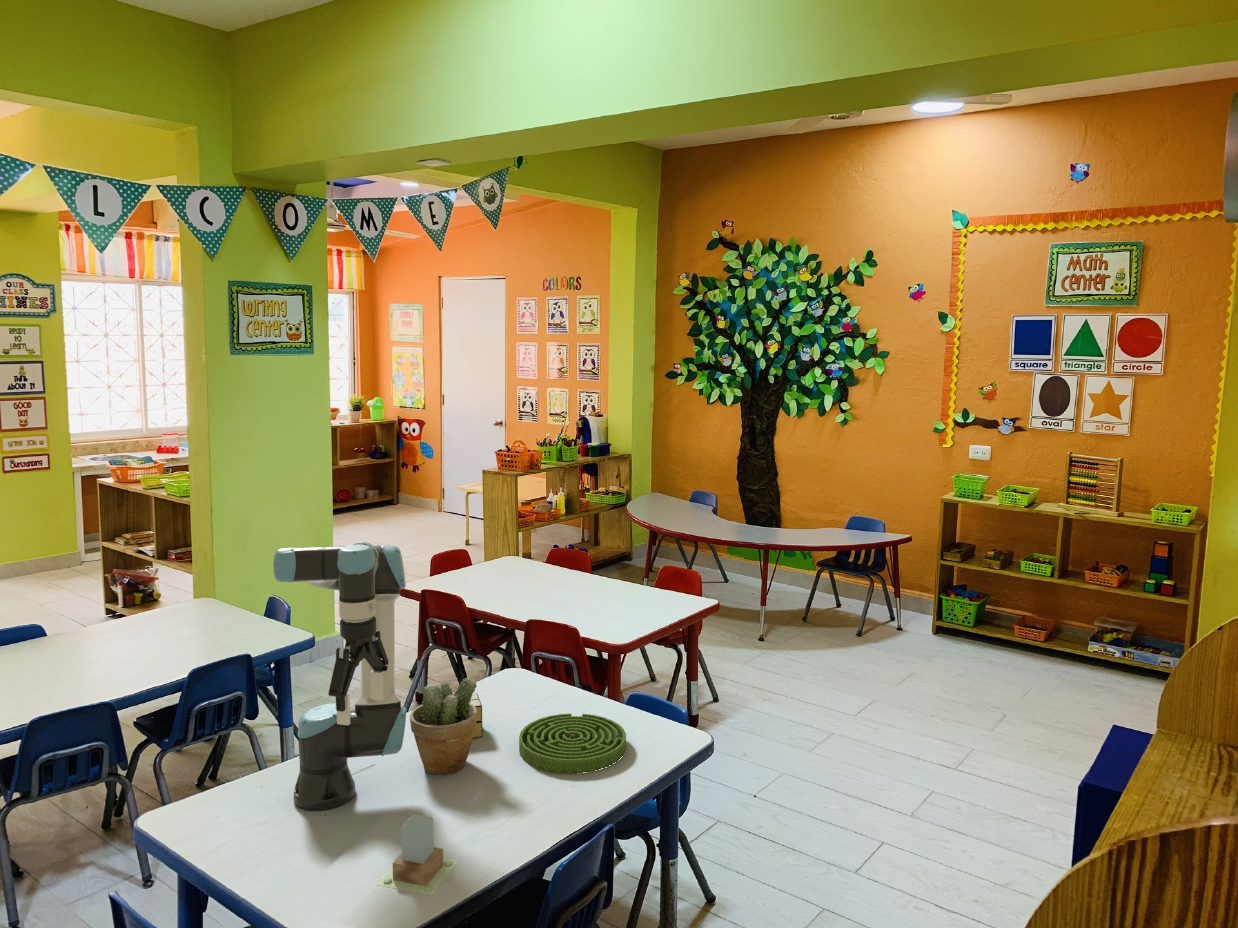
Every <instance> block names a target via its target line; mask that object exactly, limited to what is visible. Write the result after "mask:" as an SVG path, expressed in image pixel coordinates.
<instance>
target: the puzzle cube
mask: <svg viewBox="0 0 1238 928" xmlns="http://www.w3.org/2000/svg"><path fill="white" fill-rule="evenodd" d="M470 701H471V702H470V704H472V705H474V706H475V707H476V709H477V720H476V727H475V729H474V732H473V738H472V739H476V738H482V737H483V704H482V703H481V700H480V697H479V694H478V692H477V693H475V692H474V693H473V694H472V697H471V699H470Z"/></svg>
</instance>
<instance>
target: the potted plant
mask: <svg viewBox="0 0 1238 928" xmlns="http://www.w3.org/2000/svg"><path fill="white" fill-rule="evenodd" d="M476 689H477V681H476V680H474V679H473V678H472V677H464V678H463V679H462V681H461V682H460V685H458V687H457V689H456V691H454V692H453V691H452V690H453V688H452V687H450V685H449V682H445V681H444V682H442V683H441V684H440V687H439V685H437V684H435V683H431V684H427V685H426V686H424V687H423V690H422V693H423V694H422V702H421V704H420V705H418V706H417V707H415V708H414V709H412V710H411V712H410V714H409V723H410V730H411V732H412V733H413V737H414V741H415V743H416V747H417V750H418V754H419V757H420V760H421V763H422V765H423V768H424V770H425V771H426V772H428V773H429V774H432V775H437V776H439V775H440V776H445V775H446V776H447V775H451V774H455V773H457V772H459V771H461V770H462V769H464V767H465V765H466V763H467V759H468V757H469V752H470V749H471V746H472V742H473V739H474V738H473V732H474V729H475V727H476V720H477V709H476V707H475V706H474V705H472V704H470V702H471V701H470V699H471V697H472V694H475V691H476Z"/></svg>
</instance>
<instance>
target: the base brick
mask: <svg viewBox="0 0 1238 928" xmlns="http://www.w3.org/2000/svg"><path fill="white" fill-rule="evenodd" d="M443 858H444V849H443V848H442V847H441V848H440V847H435V846H434V852H433V853H432V854H431V855H430V856H429V858H428V859H427V860H426V861H425V862H424V864H421V863H415V862H409V861H404V860H402V852H401V853H400V854H399V855H398V857H396V858H395V859H394V861H393V862H392V867H393V880H395V881H401V882H406V883H412V884H417V885H422V886H427V885H428V884H429V882H430V881H431V880H432V879H433V878H434V876H435V875H436V874H437V873H438V871H439V870H440V869H441V868H442V866H443Z"/></svg>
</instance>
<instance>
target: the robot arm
mask: <svg viewBox="0 0 1238 928" xmlns="http://www.w3.org/2000/svg"><path fill="white" fill-rule="evenodd" d="M272 566H273V569H272V570H273V576H274V579H275V580H276V582H279V583H299V582H304V583H305V582H307V583H309V584H310V585H312V586H314V587H316V588H322V589H326V590H332V591H338V592H339V593H338V595H339V596H338V597H339V598H338V599H339V600H338V603H339V604H338V605H339V607H338V610H339V611H338V612H339V618H340V619H339V631H340V632H339V635H340V636H341V638H343V640H344V641H345V645H344V647H343V648H342V647H337V648H336V650H335V662H334V667H333V671H332V676H331V680H330V683H329V684H330V685H329V689H328V696H329V697H335V702H334V703H333V702H332V703H326V704H325V703H324V704H321V705H317V706H315V707H312V708H310V709H309V710H307V711H305V712H304V713H303V714H302V715H300V717H299V719H298V725H297V726H298V731H297V737H298V755H299V759H298V760H299V772H298V776H297V780H296V782H295V785H294V786H295V787H294V789H293V802H294V804H295V806H296V807H298V808H299V809H303V810H307V811H314V812H315V811H327V810H331V809H335V808H337V807H342V805H345V804H347V803H349V801H351V800H352V799H353V798H354V796H355V795H356V783H355V779H354V778H353V776H352V773H351V769H350V766H349V765H348V758H350V759H351V758H364V757H374V756H376V757H377V756H381V757H384V756H387V755H388V756H389V755H395V754H398V753H399V752H400V751H401V750H402V747H403V742H404V737H405V729H406V728H405V727H406V721H407V712H408V711H407V707H405V706H402V700H401V699H400V698H399V697H398V696H397V695H396V685H395V684H396V678H395V677H396V676H395V675H396V673H395V672H396V671H395V669H396V668H395V665H396V663H395V661H396V659H395V657H396V656H395V654H396V653H395V641H396V640H395V638H396V637H395V603H396V600H398V598H400V596H401V590H403V589H406V576H405V575H406V574H405V567H404V562H403V556H402V551H401V550H400V548H399V547H398V546H397V545H396V546H395V545H387V544H386V545H383V544H381V545H373V544H372V543H370V542H366V541H358V542H355V543H353V544H350V545H341V546H319V547H318V546H317V547H314V546H313V547H309V546H308V547H292V546H291V547H284V548H283V547H282V548H278V549H276V551H275V553H274V556H273V565H272ZM359 665H360V697H359V698H358V699H357V700H356V701H355V702H354V710H351V707H350V704H351V703H350V700H351V699H350V694H348V691H349V688H350V686H351V683H352V679H353V677H354V674H355V671H356V669H357V667H359Z"/></svg>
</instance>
